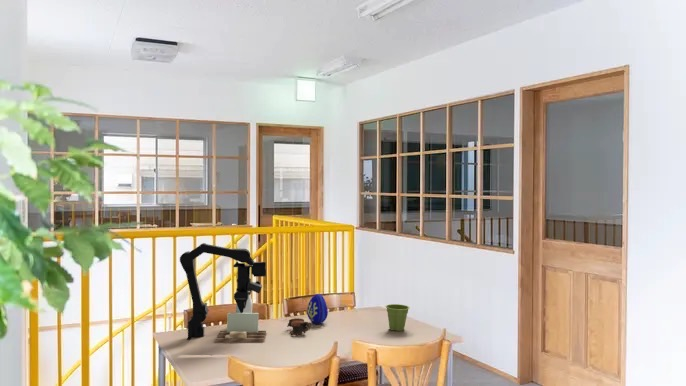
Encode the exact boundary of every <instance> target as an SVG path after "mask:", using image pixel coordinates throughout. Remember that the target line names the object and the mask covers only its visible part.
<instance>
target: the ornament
mask: <svg viewBox="0 0 686 386" xmlns="http://www.w3.org/2000/svg"><path fill="white" fill-rule="evenodd" d="M328 314H329V309H328V306H327V302H326V300H325V298H324V296H323V295H322V294H320V293H317V294H316V293H315V294H314V295H313V296H312V297H311V298H310V300H309V302H308V304H307V309H306V315H307V318H308V319H309V321H310V322H311V323H312V324H316V325H319V324H323V323H325V321H326V320H327V318H328Z"/></svg>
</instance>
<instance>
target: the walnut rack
mask: <svg viewBox="0 0 686 386" xmlns="http://www.w3.org/2000/svg"><path fill="white" fill-rule="evenodd" d="M226 335H230V332H227V330H219V332H218V334H217V335H216V337H215V338H214V339H215V340H214V342H213V343H265V342H266V340H267V335H268V332H267V330H258V332H247V334H246V335H247V337H246V338H225V336H226Z"/></svg>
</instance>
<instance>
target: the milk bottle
mask: <svg viewBox="0 0 686 386" xmlns="http://www.w3.org/2000/svg"><path fill="white" fill-rule="evenodd" d="M248 292H250V291H248ZM235 313H240V310H239V308H238V306H237V305H236V308H235ZM243 313H253V300H252V295H251V294H250V295H249V298H248V300H247V303H246V307H245V308H244V310H243Z"/></svg>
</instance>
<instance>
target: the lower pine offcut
mask: <svg viewBox="0 0 686 386" xmlns="http://www.w3.org/2000/svg"><path fill="white" fill-rule="evenodd" d="M246 337H247V335H246ZM246 337H230V335H226V336H225V338H246Z"/></svg>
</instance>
